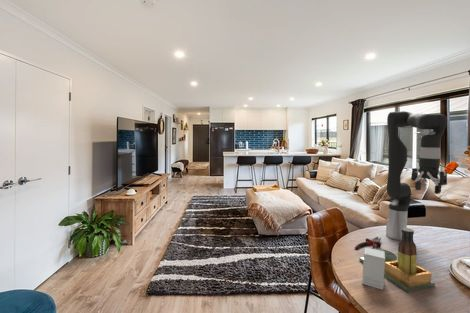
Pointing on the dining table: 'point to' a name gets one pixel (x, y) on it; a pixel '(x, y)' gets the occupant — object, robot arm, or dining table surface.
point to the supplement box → (373, 268)
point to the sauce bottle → (407, 252)
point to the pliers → (368, 242)
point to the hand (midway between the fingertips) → (427, 191)
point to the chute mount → (404, 274)
